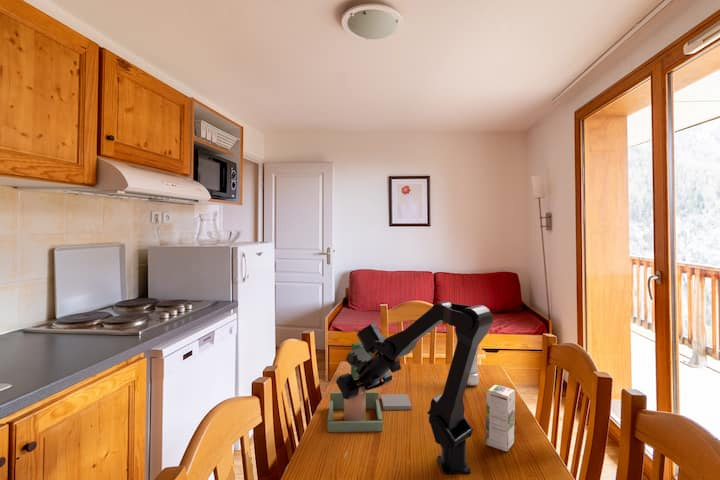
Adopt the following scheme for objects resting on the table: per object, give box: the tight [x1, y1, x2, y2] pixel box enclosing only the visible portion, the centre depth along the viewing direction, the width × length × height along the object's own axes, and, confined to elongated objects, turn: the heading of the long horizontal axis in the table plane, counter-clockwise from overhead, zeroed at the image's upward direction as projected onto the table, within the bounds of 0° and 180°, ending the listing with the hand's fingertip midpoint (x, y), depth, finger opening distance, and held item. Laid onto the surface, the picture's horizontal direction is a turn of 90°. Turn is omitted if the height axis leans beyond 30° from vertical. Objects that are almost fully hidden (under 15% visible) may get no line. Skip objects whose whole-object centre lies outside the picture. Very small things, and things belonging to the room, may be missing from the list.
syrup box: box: [485, 384, 516, 452], centre depth 100 cm, size 6×6×14 cm
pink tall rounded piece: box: [343, 387, 367, 421], centre depth 114 cm, size 6×6×9 cm
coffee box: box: [350, 342, 373, 379], centre depth 150 cm, size 8×3×13 cm, turn 113°
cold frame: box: [327, 391, 384, 433], centre depth 114 cm, size 16×16×5 cm
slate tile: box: [380, 393, 413, 411], centre depth 125 cm, size 9×9×1 cm
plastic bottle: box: [466, 344, 480, 387], centre depth 141 cm, size 6×7×20 cm
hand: (351, 393), depth 115 cm, fingers closed on pink tall rounded piece, 6 cm apart
